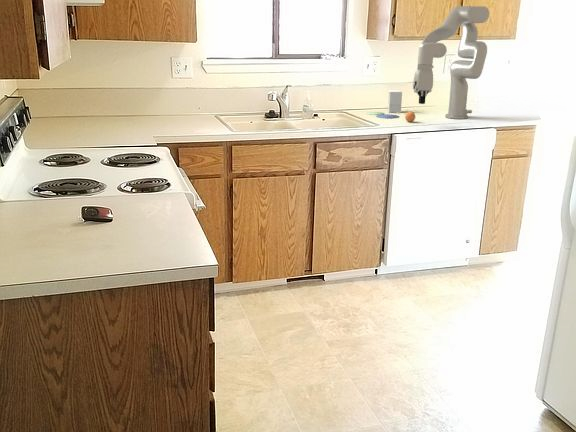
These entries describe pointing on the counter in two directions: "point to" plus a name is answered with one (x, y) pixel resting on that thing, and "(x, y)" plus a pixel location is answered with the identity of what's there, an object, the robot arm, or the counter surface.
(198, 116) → the counter surface
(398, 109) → the supplement box
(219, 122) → the counter surface
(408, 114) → the ball
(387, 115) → the navy disc
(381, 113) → the green far disc
